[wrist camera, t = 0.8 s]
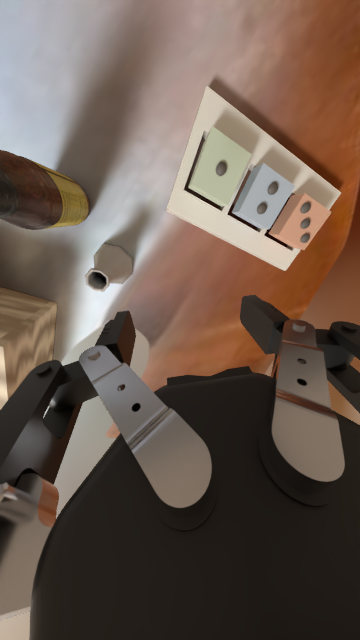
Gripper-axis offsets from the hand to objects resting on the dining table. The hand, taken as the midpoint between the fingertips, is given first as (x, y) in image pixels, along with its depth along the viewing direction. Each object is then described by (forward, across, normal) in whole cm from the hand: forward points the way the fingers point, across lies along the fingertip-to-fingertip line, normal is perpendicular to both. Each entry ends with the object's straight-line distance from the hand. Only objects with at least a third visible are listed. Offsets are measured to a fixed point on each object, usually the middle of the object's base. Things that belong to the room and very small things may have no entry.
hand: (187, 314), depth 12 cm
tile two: (+21, -15, -7) cm, 27 cm away
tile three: (+22, -22, -3) cm, 31 cm away
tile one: (+21, -8, -11) cm, 25 cm away
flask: (+24, +11, +1) cm, 26 cm away
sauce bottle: (+24, +14, -9) cm, 29 cm away
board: (+24, -15, -7) cm, 29 cm away
